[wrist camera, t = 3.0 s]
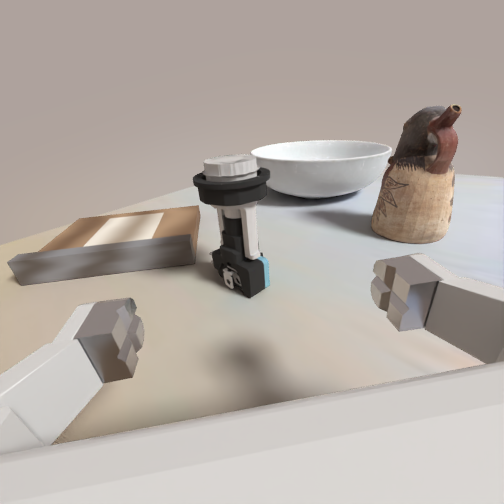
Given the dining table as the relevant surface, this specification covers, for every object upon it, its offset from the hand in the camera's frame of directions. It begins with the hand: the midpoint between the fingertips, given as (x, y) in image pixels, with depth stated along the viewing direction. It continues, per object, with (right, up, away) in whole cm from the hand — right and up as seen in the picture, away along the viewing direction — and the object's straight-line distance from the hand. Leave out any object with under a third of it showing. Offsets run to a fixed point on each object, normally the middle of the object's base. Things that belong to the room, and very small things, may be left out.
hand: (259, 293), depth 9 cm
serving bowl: (+10, +11, +36) cm, 39 cm away
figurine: (+17, +4, +20) cm, 26 cm away
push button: (-1, -1, +14) cm, 14 cm away
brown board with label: (-15, +3, +23) cm, 27 cm away
